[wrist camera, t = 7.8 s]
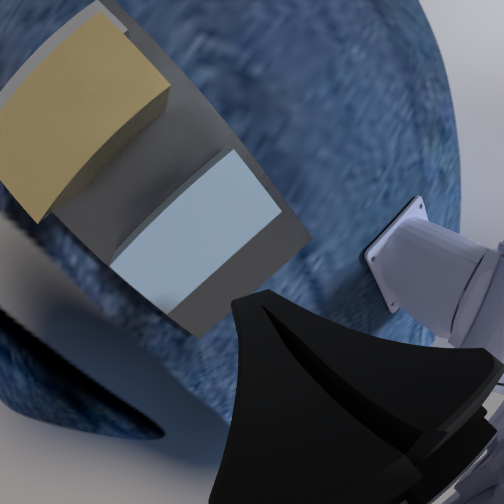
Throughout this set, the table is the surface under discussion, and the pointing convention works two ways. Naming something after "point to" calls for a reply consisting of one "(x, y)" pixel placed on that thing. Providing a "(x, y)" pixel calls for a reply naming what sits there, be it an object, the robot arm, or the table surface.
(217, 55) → the table surface
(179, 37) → the table surface
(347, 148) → the table surface
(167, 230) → the block
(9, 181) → the brass block
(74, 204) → the vise
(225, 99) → the table surface
